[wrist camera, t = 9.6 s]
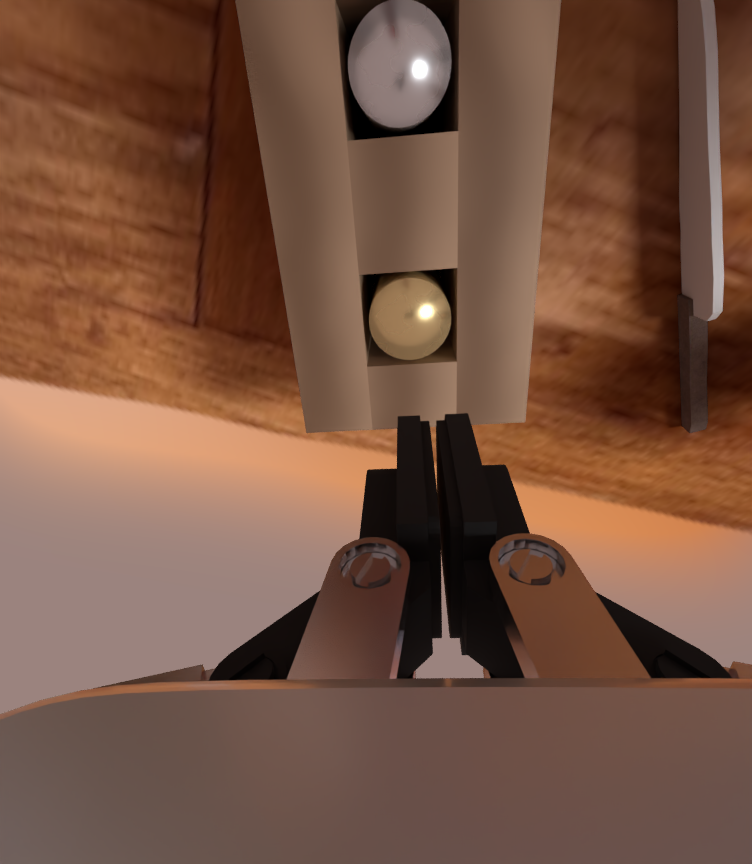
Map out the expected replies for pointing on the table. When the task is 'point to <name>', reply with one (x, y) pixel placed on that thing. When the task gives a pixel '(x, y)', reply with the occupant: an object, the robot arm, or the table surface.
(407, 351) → the brass peg
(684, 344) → the kitchen knife
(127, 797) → the robot arm
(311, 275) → the socket block
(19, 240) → the table surface
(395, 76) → the steel peg
